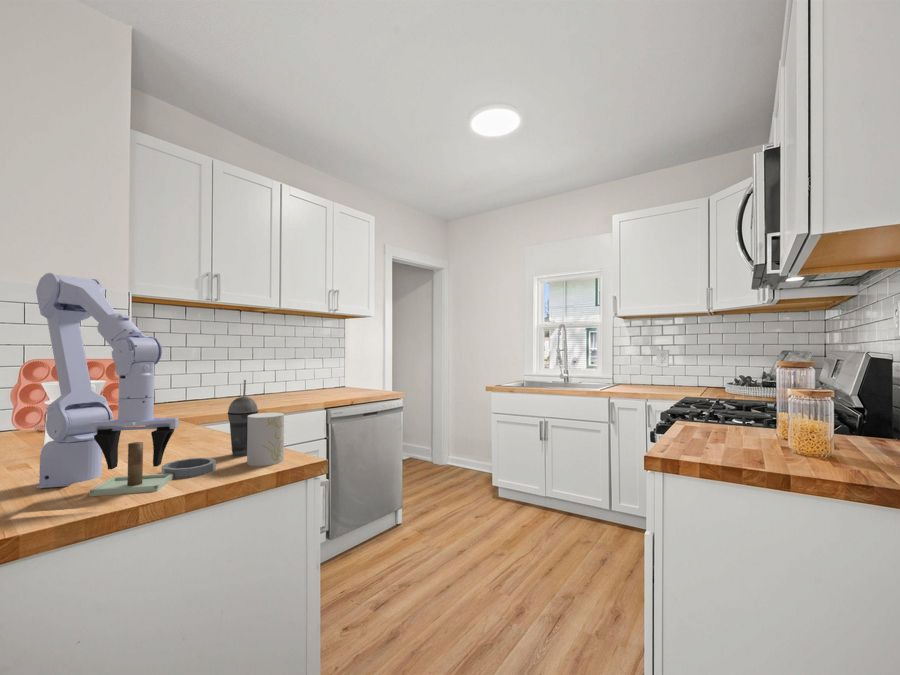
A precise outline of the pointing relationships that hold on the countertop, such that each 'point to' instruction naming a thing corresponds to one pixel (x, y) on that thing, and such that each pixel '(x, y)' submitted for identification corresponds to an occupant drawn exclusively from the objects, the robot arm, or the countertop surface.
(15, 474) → the countertop surface
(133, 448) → the dowel
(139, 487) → the tray
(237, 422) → the beverage cup
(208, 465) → the ramekin
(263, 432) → the cup
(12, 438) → the countertop surface
